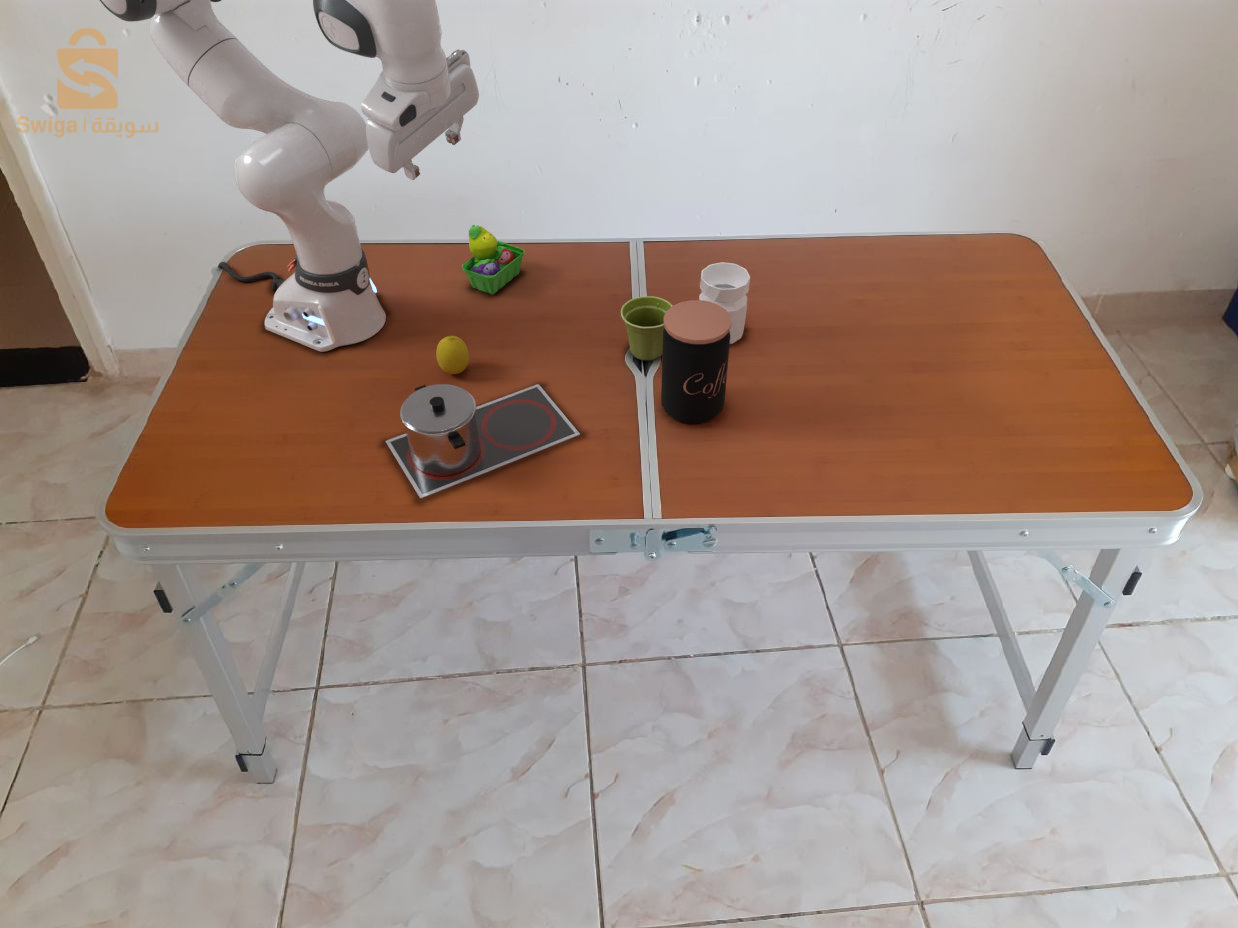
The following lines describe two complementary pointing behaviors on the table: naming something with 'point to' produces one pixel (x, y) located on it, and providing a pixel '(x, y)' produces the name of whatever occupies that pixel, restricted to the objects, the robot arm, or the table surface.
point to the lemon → (452, 355)
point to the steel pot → (441, 429)
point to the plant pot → (645, 325)
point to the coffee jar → (695, 361)
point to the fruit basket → (491, 261)
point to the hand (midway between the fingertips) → (433, 158)
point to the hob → (497, 437)
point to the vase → (727, 293)
